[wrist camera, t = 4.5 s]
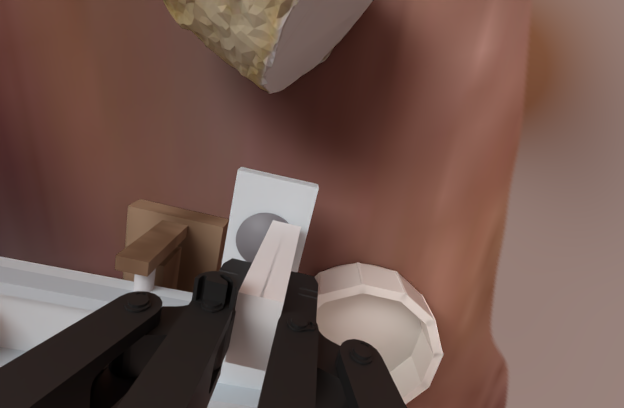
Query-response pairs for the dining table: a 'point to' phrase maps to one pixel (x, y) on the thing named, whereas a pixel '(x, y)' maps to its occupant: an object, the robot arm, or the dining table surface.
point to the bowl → (381, 321)
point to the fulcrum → (171, 244)
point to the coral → (269, 33)
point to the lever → (152, 280)
